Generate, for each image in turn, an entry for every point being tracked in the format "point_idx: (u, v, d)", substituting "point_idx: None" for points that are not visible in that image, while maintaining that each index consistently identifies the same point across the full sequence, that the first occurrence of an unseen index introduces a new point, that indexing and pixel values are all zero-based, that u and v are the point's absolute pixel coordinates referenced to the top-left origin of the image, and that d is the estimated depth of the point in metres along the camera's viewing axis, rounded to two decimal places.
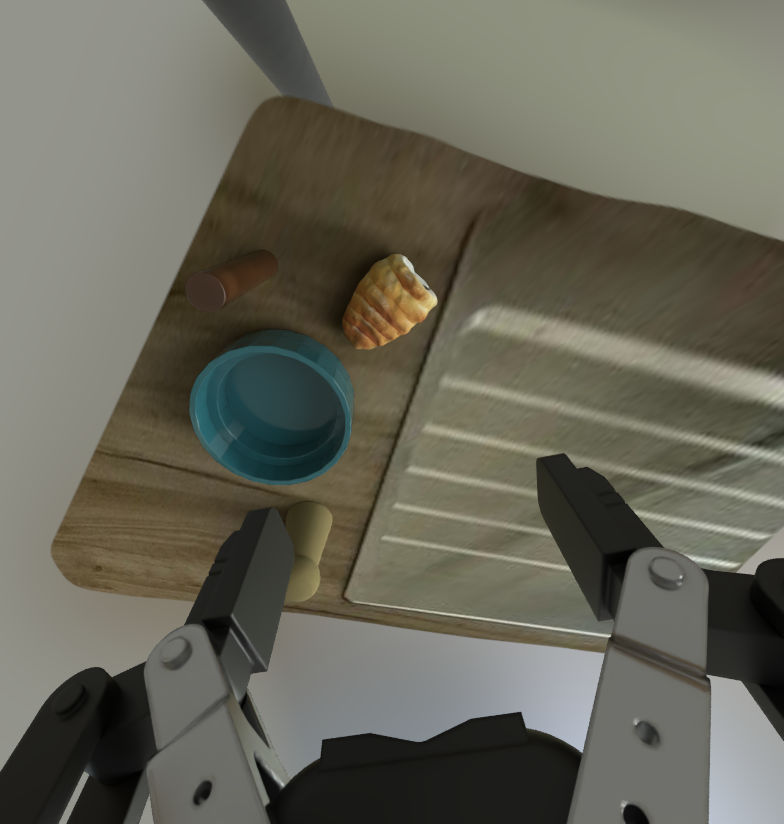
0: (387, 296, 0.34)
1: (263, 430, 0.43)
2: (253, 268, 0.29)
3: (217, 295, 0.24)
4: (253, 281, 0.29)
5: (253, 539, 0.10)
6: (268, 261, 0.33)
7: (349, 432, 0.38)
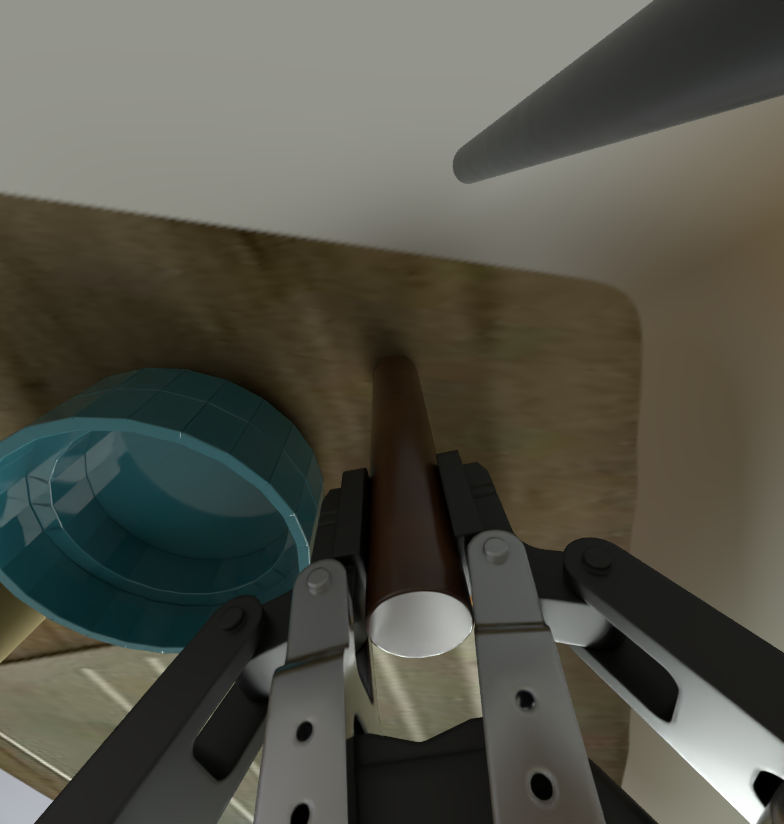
0: None
1: (109, 482, 0.22)
2: None
3: (427, 646, 0.09)
4: None
5: (357, 493, 0.11)
6: None
7: None
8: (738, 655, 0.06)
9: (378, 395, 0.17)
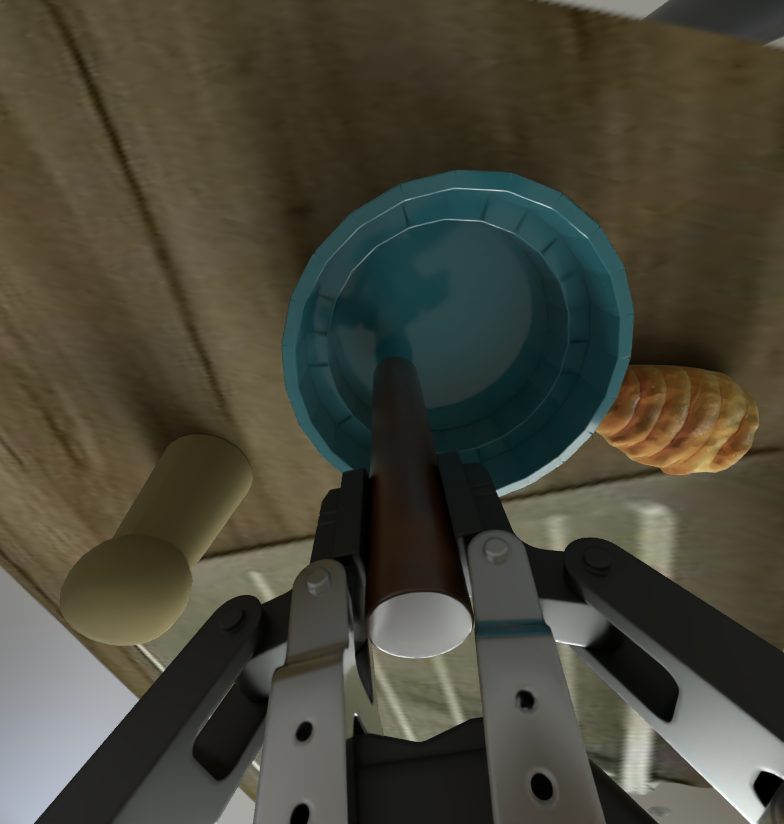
0: (714, 426, 0.22)
1: (354, 329, 0.21)
2: None
3: (426, 646, 0.09)
4: None
5: (357, 493, 0.11)
6: None
7: None
8: (739, 655, 0.06)
9: (378, 395, 0.17)
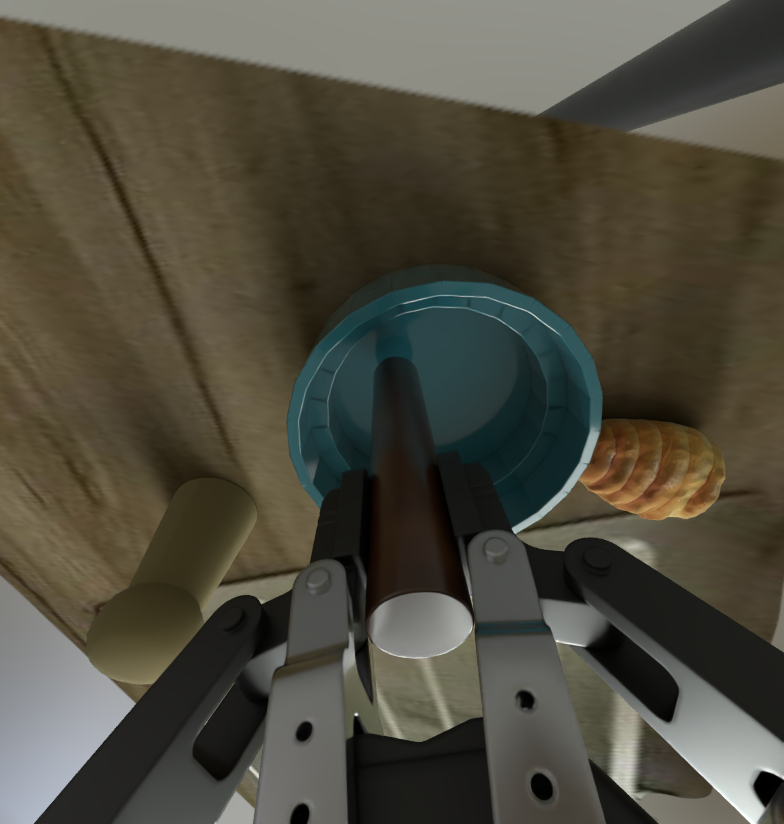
0: (683, 480, 0.23)
1: (353, 389, 0.23)
2: None
3: (427, 646, 0.09)
4: None
5: (357, 493, 0.11)
6: None
7: None
8: (739, 655, 0.06)
9: (378, 395, 0.17)
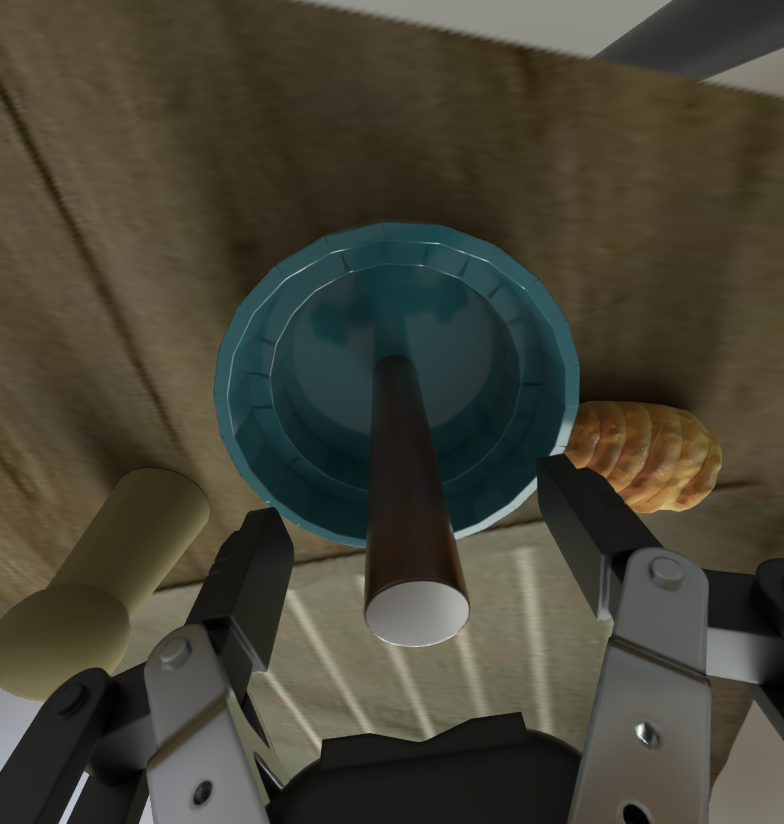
0: (675, 467, 0.21)
1: (305, 366, 0.21)
2: None
3: (424, 635, 0.09)
4: None
5: (253, 539, 0.10)
6: None
7: None
8: None
9: (377, 393, 0.17)
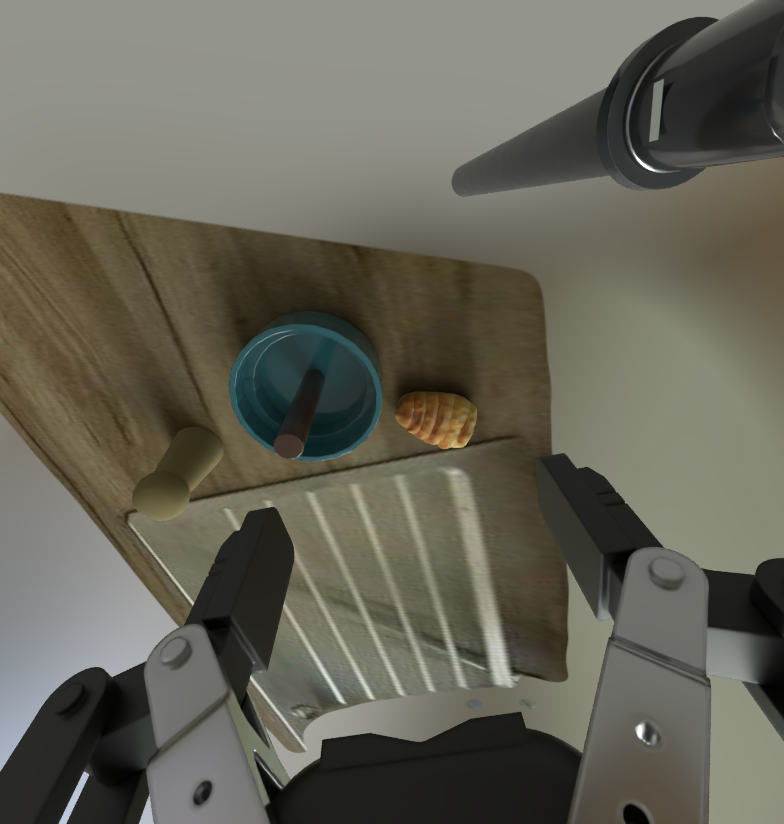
0: (450, 423, 0.43)
1: (271, 374, 0.43)
2: None
3: (292, 454, 0.31)
4: None
5: (253, 539, 0.10)
6: None
7: (335, 456, 0.42)
8: None
9: (299, 387, 0.40)
